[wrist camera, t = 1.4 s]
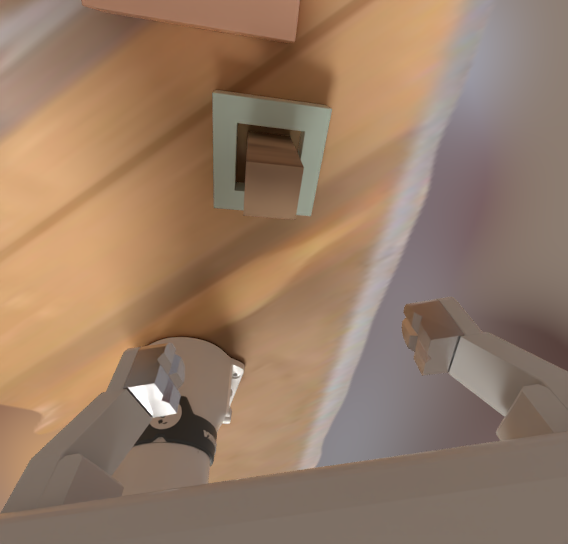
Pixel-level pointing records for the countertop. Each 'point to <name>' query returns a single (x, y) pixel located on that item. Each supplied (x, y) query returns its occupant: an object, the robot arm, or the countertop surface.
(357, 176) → the countertop surface
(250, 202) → the plug
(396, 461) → the robot arm
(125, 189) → the countertop surface
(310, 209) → the green square frame
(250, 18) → the socket block
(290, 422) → the countertop surface
